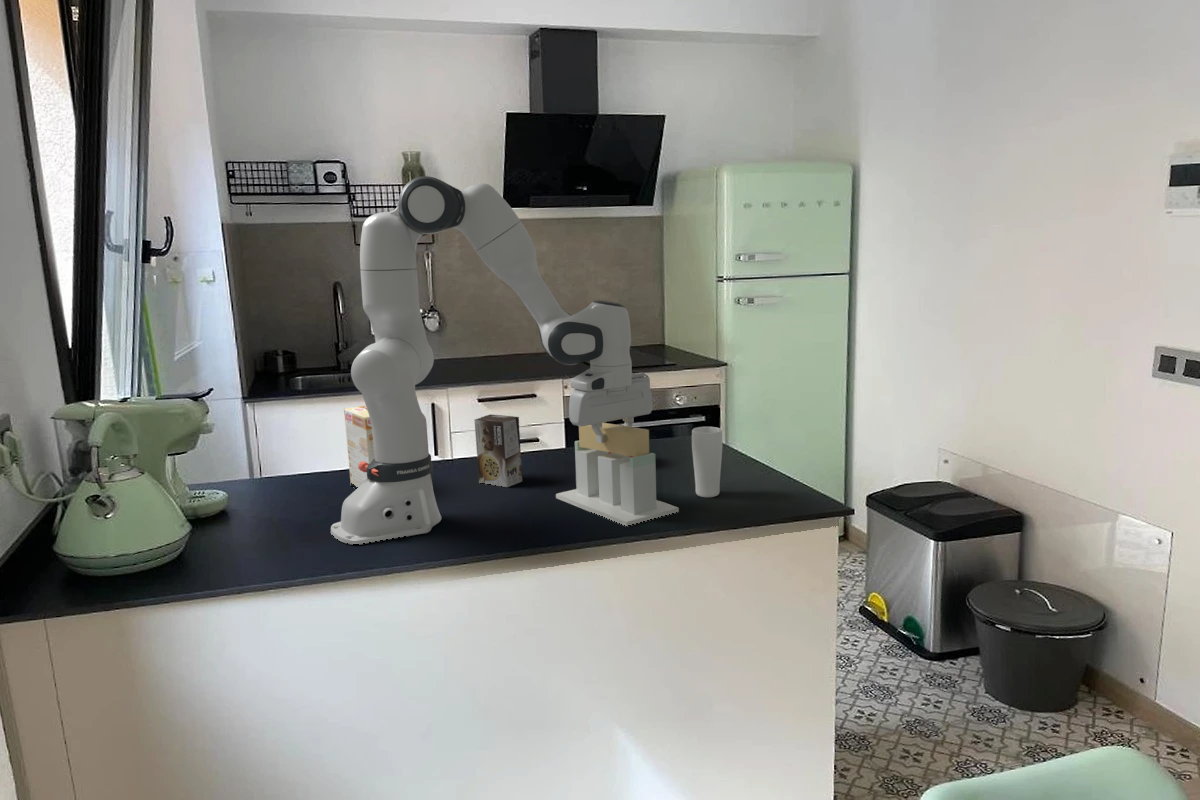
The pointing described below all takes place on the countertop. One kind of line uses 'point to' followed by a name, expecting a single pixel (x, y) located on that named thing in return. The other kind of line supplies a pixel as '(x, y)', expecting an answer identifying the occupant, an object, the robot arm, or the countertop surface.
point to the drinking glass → (707, 460)
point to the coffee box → (498, 450)
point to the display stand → (616, 486)
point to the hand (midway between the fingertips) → (613, 440)
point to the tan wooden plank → (616, 439)
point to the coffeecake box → (358, 441)
